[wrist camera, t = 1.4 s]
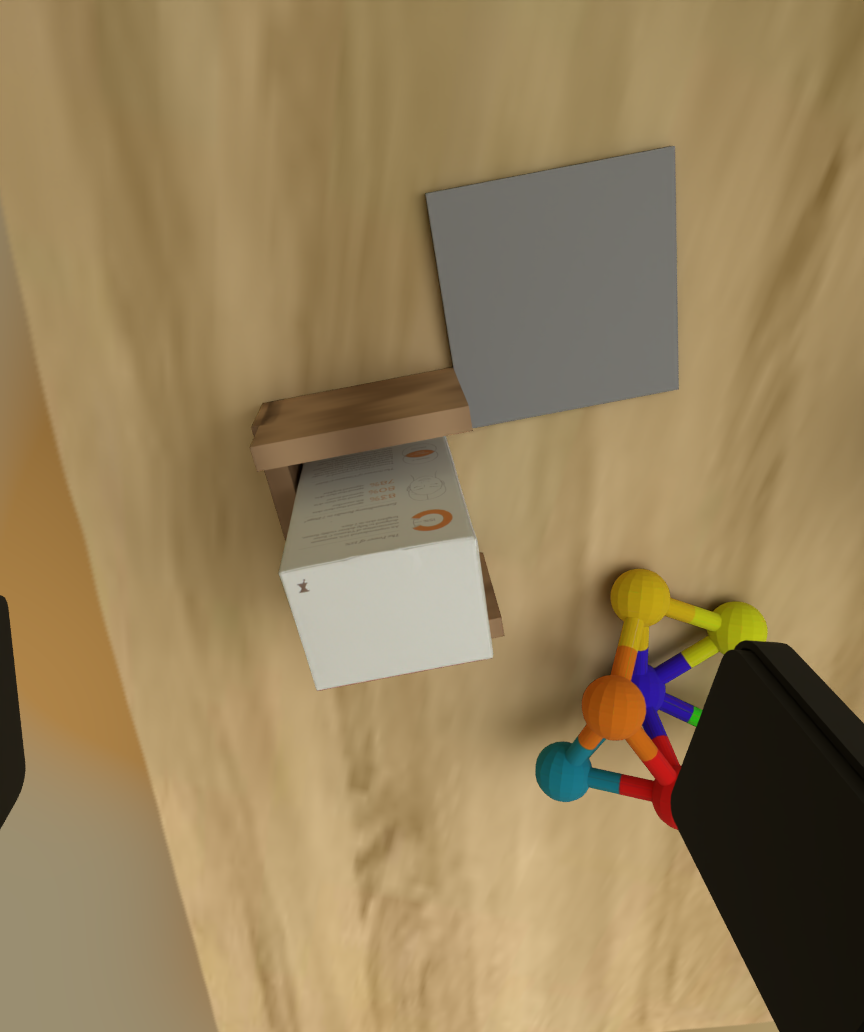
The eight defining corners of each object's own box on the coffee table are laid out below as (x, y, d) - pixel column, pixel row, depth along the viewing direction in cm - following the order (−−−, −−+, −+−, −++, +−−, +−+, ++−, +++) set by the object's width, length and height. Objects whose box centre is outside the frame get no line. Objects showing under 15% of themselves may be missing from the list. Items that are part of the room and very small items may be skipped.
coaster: (670, 146, 34) (674, 145, 33) (674, 386, 39) (678, 389, 39) (425, 193, 34) (425, 193, 34) (462, 426, 39) (463, 430, 39)
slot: (452, 367, 38) (468, 406, 32) (485, 569, 44) (504, 636, 37) (262, 403, 38) (240, 449, 32) (319, 600, 44) (311, 672, 37)
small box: (329, 550, 42) (312, 695, 31) (302, 452, 39) (273, 571, 28) (462, 525, 42) (496, 661, 30) (445, 426, 39) (476, 533, 28)
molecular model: (544, 556, 47) (519, 779, 47) (598, 565, 38) (568, 845, 38) (750, 579, 50) (728, 793, 49) (850, 593, 40) (823, 858, 40)
